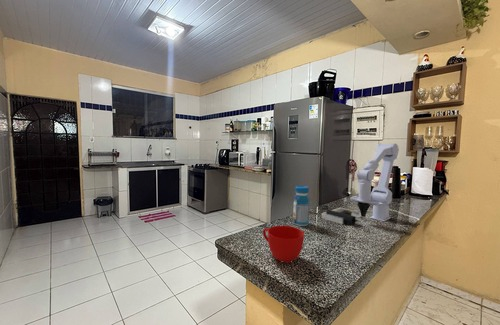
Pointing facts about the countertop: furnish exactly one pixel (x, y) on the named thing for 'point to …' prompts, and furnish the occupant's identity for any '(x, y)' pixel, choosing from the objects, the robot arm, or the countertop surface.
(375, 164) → the robot arm
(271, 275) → the countertop surface
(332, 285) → the countertop surface
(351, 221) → the pipe connector
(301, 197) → the beverage bottle
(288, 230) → the ceramic cup
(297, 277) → the countertop surface
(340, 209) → the aluminium bracket
